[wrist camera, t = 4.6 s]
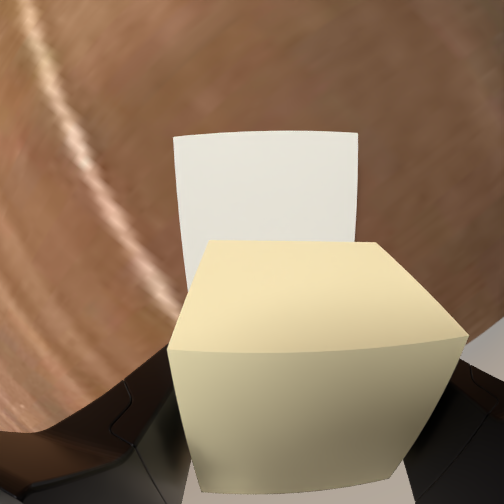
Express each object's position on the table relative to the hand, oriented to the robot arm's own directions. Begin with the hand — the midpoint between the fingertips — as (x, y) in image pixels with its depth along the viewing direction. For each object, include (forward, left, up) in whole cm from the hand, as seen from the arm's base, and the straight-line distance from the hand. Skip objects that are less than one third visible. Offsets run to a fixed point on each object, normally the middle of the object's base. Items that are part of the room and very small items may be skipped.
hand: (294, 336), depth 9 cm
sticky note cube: (0, 0, -1) cm, 1 cm away
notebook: (0, +1, -12) cm, 12 cm away
